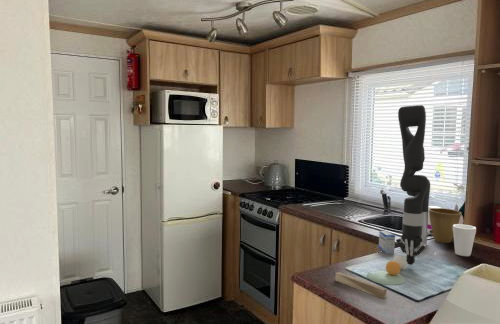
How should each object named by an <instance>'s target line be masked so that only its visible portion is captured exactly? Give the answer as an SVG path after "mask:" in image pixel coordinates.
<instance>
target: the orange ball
mask: <svg viewBox="0 0 500 324" xmlns="http://www.w3.org/2000/svg"><path fill="white" fill-rule="evenodd" d="M385 271H387V272H388V273H389V274H390V275H397V274H399V275H400V272H401V268H400V265H399V264H398V263H397V262H395V261H393V260H390V261H388V262H387V263H386V265H385Z"/></svg>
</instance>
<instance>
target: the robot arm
mask: <svg viewBox="0 0 500 324" xmlns="http://www.w3.org/2000/svg"><path fill="white" fill-rule="evenodd" d="M397 117H398V124H399V129H400V134H401V142H402V155H403V156H402V157H403V163H404V169H403V173H402V176H401V180H400V184H399V186H400V188H401V190H402V191H403V192H406V194H407V195H408V196H409V197H405V198H404V201H403V214H402V226H401V227H402V228H401V229H402V230H401V232H402V235H401V236H400V238H398V239H395V243H397V244H398V248H400V251H402V253H404V254H405V255H406V260H407V265H410V266H412V265H413V264H415V261H416V259H415V258H416V257H418V256H420V255H421V254H422V253H423V252H424V251H425V250H426V249H427V248H428V245H427V244H428V234H427V227H428V206H430V205H429V203H430V202H429V201H430V193H431V181H430V180H429V179H428V177H427V176H426V175H422V174H416V173H417V172H420V171H421V170H423V169H424V162H425V159H426V157H425V156H426V155H425V147H424V142H425V135H426V126H427V125H426V123H427V122H426V121H427V112H426V108H425V106H424V105H423V104H417V105H415V104H414V105H406V106H405V105H404V106H401V107H399V108H398V111H397ZM413 127H417V129H416V131H415V134H413V133H412V132H411V129H410V128H413ZM418 247H419V248H418Z"/></svg>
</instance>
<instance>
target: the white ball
mask: <svg viewBox="0 0 500 324" xmlns="http://www.w3.org/2000/svg"><path fill="white" fill-rule="evenodd" d="M392 261H395V262H397V263H398V264H399V265H400V268H401V270H404V269H406V268H407V266H408V264H407V258H406V257H404V256H402V255H397V256H394V257H393V260H392ZM401 270H400V271H401Z"/></svg>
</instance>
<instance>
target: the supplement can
mask: <svg viewBox="0 0 500 324" xmlns="http://www.w3.org/2000/svg"><path fill="white" fill-rule="evenodd" d="M431 208H442V207H441V206H438V205H429V206H428V227H427V235H432V236H433V232H432V228H431V223H430V215H429V209H431Z"/></svg>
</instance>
